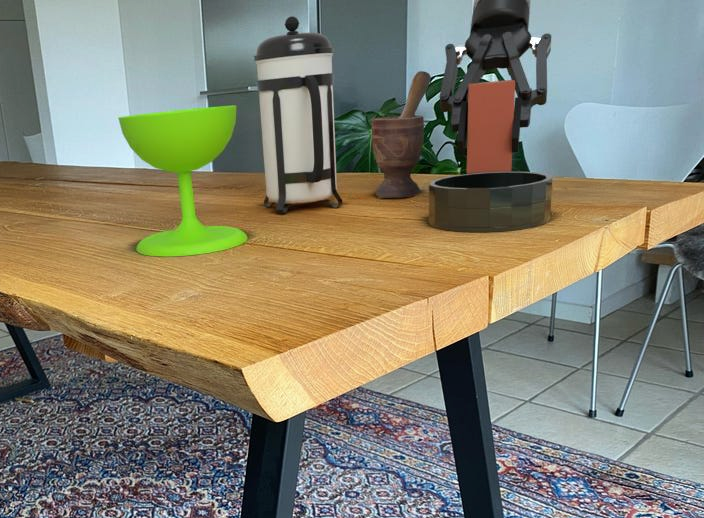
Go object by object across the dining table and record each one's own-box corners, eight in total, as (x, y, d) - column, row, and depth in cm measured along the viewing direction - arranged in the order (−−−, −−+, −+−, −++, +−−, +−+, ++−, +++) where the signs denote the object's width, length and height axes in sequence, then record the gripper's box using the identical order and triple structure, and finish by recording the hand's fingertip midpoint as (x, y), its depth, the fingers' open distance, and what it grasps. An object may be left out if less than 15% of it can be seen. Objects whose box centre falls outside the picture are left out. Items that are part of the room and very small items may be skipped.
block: (509, 166, 100) (513, 79, 96) (511, 171, 95) (515, 80, 91) (467, 168, 101) (469, 83, 98) (466, 173, 97) (468, 84, 93)
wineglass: (242, 228, 113) (231, 104, 107) (253, 248, 98) (241, 106, 92) (138, 239, 112) (121, 115, 106) (133, 261, 97) (114, 119, 91)
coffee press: (237, 214, 125) (221, 22, 115) (291, 198, 137) (281, 22, 126) (323, 218, 115) (313, 6, 104) (374, 200, 126) (370, 7, 115)
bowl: (544, 208, 105) (546, 168, 103) (554, 230, 91) (557, 185, 89) (432, 213, 110) (432, 175, 108) (426, 234, 96) (425, 191, 94)
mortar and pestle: (390, 189, 136) (389, 74, 130) (436, 188, 132) (437, 69, 125) (365, 199, 128) (362, 76, 121) (413, 199, 123) (413, 71, 116)
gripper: (573, 25, 102) (567, 161, 93) (433, 41, 109) (415, 168, 101) (577, -21, 95) (570, 121, 87) (428, -1, 103) (408, 132, 94)
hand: (487, 146), depth 94 cm, fingers closed on block, 6 cm apart
